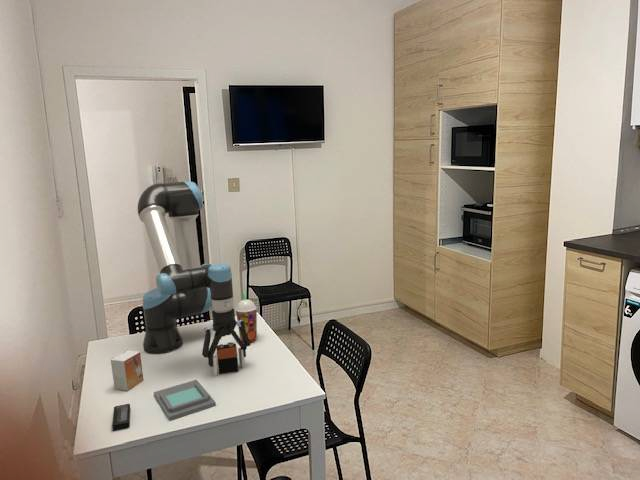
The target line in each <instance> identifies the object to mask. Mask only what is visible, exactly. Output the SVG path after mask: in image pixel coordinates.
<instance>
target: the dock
mask: <svg viewBox="0 0 640 480" xmlns="http://www.w3.org/2000/svg"><path fill="white" fill-rule="evenodd" d="M153 396H154V398H155V400H156V402H157V403H158V405H159V406H160V408H161V409H162V411H163V414H165V416H166V418H167V420H168V421H169V422H170V421H173V420H177V419H180V418H183V417H185V416H188V415H191V414H194V413H198V412H201V411H203V410H206V409H207V410H208V409H209V408H213V407H216V406H217V404H216V401H215V400H214V399H213V397H212V396H211V395H210V394H209V393H208V391H207V390H206V388H204V387H203V385H202V384H201V382H199V380H197V379H194V380H190V381H187V382H184V383H180V384H177V385H174V386H171V387H170V386H169V387H167V388H163V389H160V390H159V389H158V390H156V391H153Z"/></svg>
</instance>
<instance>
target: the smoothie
mask: <svg viewBox="0 0 640 480" xmlns="http://www.w3.org/2000/svg"><path fill="white" fill-rule="evenodd" d="M243 296H244V298H243V299H241V300H240V301H239V302H238V303H237V305H236V308H235V315H236V321H239V320H240V319H241V320H242V321H244V328H245V331H246V333H247V336H248V339H249V342H250V344H251V343H254V342H255V341H256V340H257V337H258V336H257V335H258V330H257V328H258V325H257V324H258V323H257V319H258V318H257V316H258V315H257V309H258V307H257V306H256V303H254V301H253V300H251V299H247V293H246V292H244V295H243ZM237 328H238V332H239V335H238V336H239V338H240V339H241V341H242V342H243V343H244V340H243V338H242V335H241V332H240V329H239V327H238V326H237Z"/></svg>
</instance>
